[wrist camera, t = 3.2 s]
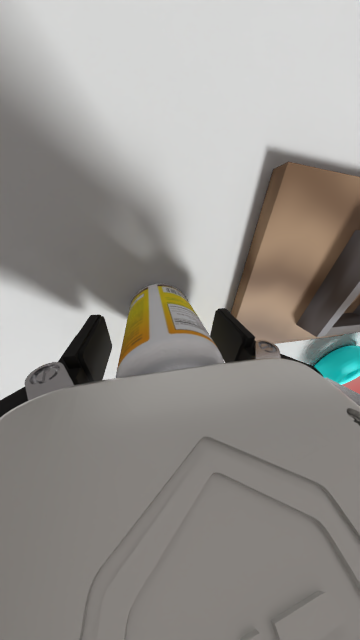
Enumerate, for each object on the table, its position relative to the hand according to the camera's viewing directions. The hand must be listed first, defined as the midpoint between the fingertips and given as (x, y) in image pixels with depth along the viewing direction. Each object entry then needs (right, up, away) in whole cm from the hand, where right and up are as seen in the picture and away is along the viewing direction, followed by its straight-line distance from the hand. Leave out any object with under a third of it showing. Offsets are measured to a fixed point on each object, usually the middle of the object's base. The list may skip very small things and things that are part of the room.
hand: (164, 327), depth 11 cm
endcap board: (+17, +5, +5) cm, 18 cm away
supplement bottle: (-1, +2, +2) cm, 3 cm away
